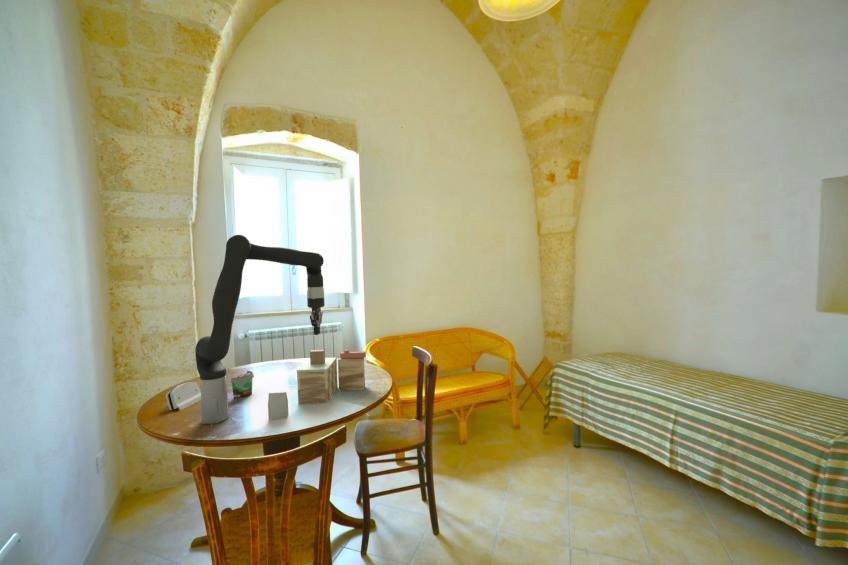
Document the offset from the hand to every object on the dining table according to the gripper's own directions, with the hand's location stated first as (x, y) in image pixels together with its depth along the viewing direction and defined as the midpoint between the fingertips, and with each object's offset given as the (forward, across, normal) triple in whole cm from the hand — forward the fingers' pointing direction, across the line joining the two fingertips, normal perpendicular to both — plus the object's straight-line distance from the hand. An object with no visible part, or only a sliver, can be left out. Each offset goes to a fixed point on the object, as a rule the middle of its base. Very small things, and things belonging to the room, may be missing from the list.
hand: (317, 334), depth 173 cm
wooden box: (+29, -1, +7) cm, 29 cm away
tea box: (+29, +24, -10) cm, 39 cm away
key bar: (+13, -8, +15) cm, 21 cm away
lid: (+15, 0, 0) cm, 15 cm away
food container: (+29, -3, -35) cm, 46 cm away
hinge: (+29, +5, -58) cm, 66 cm away
